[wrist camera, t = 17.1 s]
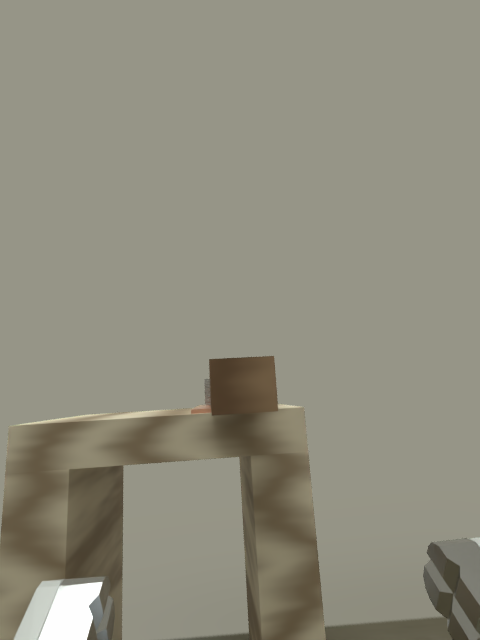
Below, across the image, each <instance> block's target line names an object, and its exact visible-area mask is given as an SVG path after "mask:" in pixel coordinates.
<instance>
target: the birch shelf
mask: <svg viewBox="0 0 480 640" xmlns="http://www.w3.org/2000/svg"><path fill="white" fill-rule="evenodd" d="M229 457H239V458H240V476H241V494H242V512H243V530H244V546H245V547H244V548H245V566H246V584H247V602H248V621H249V639H250V640H326V636H325V626H324V615H323V604H322V594H321V583H320V573H319V562H318V551H317V541H316V529H315V519H314V508H313V497H312V486H311V476H310V465H309V455H308V444H307V434H306V423H305V411H304V407H299V406H291V405H283V404H278V411H275V412H260V413H245V414H229V415H214V416H212V413H211V405H198V406H197V407H195V408H188V409H171V410H155V411H139V412H123V413H107V414H91V415H81V416H74V417H67V418H60V419H53V420H46V421H40V422H33V423H26V424H19V425H12V426H9V432H8V444H7V459H6V472H5V486H4V500H3V514H2V527H1V540H0V640H13V639H14V637H15V635H16V632H17V630H18V628H19V626H20V624H21V621H22V619H23V617H24V615H25V612H26V610H27V608H28V606H29V604H30V601H31V599H32V597H33V595H34V593H35V590H36V589H37V587H38V586H39V585H40V584H41V582H42V581H50V580H60V579H74V578H87V577H100V576H109V580H110V584H111V587H110V591H109V596H110V597H111V598H113V600H114V606H115V619H114V628H113V635H112V640H122V561H123V552H122V551H123V465H134V464H148V463H161V462H175V461H189V460H201V459H216V458H229Z"/></svg>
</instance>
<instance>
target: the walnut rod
mask: <svg viewBox="0 0 480 640" xmlns="http://www.w3.org/2000/svg"><path fill="white" fill-rule="evenodd" d="M209 365H210V379H205V405H211V413H212V416H214V415H229V414H245V413H260V412H275V411H278V402H277V389H276V377H275V363H274V356H267V357H246V358H227V359H210V360H209Z"/></svg>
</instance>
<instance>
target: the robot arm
mask: <svg viewBox="0 0 480 640" xmlns="http://www.w3.org/2000/svg"><path fill="white" fill-rule="evenodd" d="M427 554H428V555H429V557H430V559H431V560H430V561H429V562H428V563H427V564H426V565H425V566H424V574H423V577H424V582H425V588H426V590H427V593H428V595H429V598H430V600H431V602H432V603H433V605H434V607H435V609H436V610H437V611H438V612H439V613H441V614H442V615H443V616H444V617H446V618H447V619H448V632H449V634H450V635H451V637H452V639H453V640H480V537H478V538H470V539H467V538H464V539H456V540H447V541H439V542H432V543H431V544H430V545H429V546H428V550H427ZM110 587H111V584H110V580H109V576H100V577H87V578H74V579H60V580H50V581H42V582H41V584H40V585H39V586H38V587H37V589H36V590H35V593H34V595H33V597H32V599H31V601H30V604H29V606H28V608H27V610H26V612H25V615H24V617H23V619H22V621H21V624H20V626H19V628H18V630H17V632H16V635H15V637H14V639H13V640H112V635H113V628H114V619H115V606H114V600H113V598H111V597H110V596H109V591H110Z"/></svg>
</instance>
